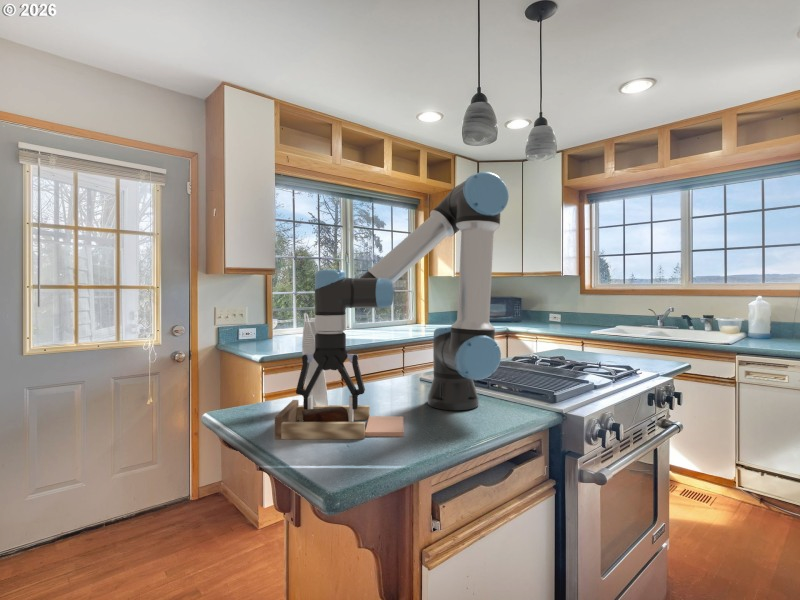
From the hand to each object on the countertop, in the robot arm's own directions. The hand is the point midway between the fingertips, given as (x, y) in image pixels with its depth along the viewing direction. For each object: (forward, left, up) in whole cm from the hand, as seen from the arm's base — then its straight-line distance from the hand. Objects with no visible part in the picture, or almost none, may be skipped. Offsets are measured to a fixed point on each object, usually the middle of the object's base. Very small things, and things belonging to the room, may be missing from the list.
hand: (330, 422), depth 106 cm
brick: (0, 0, -2) cm, 2 cm away
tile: (-13, 0, -1) cm, 14 cm away
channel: (+1, 0, -1) cm, 1 cm away
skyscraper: (+8, -18, -2) cm, 19 cm away
